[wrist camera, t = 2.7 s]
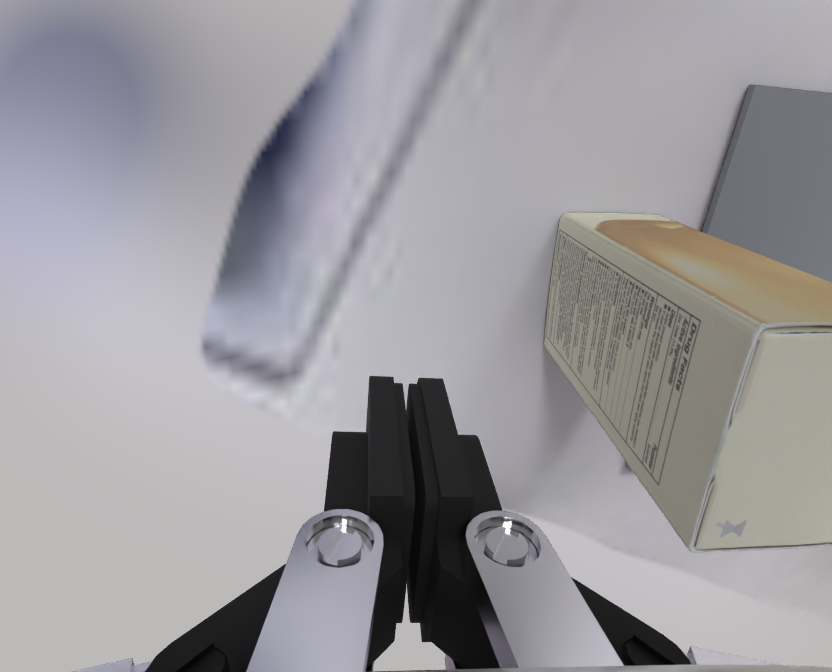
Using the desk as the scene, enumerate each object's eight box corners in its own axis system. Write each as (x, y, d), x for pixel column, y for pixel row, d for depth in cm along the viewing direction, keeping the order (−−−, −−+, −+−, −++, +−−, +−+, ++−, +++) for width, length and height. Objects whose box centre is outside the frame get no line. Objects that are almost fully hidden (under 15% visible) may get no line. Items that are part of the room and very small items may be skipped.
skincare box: (631, 345, 24) (848, 558, 13) (539, 346, 24) (683, 566, 13) (662, 204, 21) (969, 326, 10) (559, 204, 21) (764, 328, 10)
